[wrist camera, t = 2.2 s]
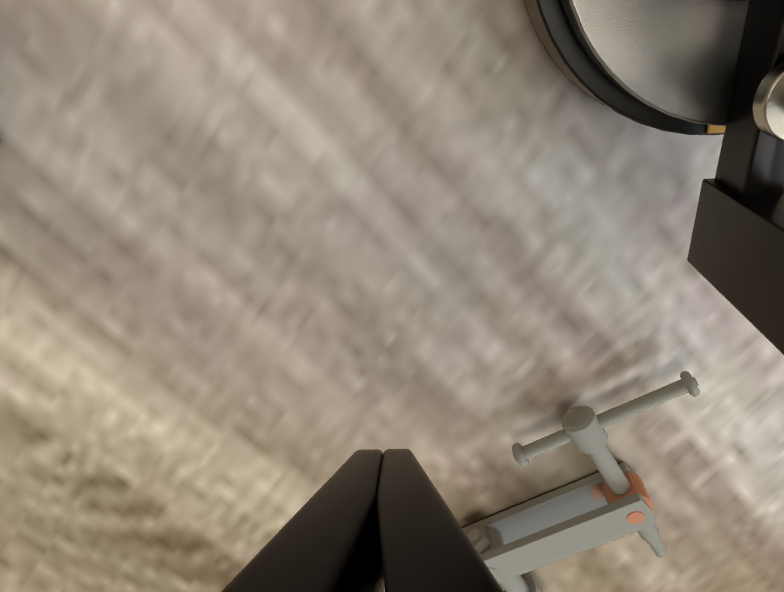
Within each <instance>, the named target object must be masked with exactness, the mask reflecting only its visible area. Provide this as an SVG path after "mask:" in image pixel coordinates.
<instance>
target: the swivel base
mask: <svg viewBox="0 0 784 592" xmlns="http://www.w3.org/2000/svg"><path fill="white" fill-rule="evenodd" d="M524 2H525V6H526V10H527V12H528V15H529V17H530V20H531V22H532V24H533V27H534V29H535V32H536V34H537V36H538V37H539V39H540V41H541V43H542V44H543V46H544V48H545V49H546V51H547V53H548V55H549V56H550V57H551V59H552V60H553V61H554V62H555V64H556V65H557V66H558V67H559V69H560V70H561V71H562V72H563V74H564V75H566V76H567V77H568V78H569V79H570V80H571V81H572V82H573V83H574V84H575V85H576V86H577V87H578V88H580V89H581V90H582V91H584V92H585V93H586V94H588V95H589V96H591V97H592V98H594V99H595V100H597V101H598V102H600V103H602V104H603V105H605V106H607V107H608V108H610V109H612V110H613V111H615V112H617V113H619V114H621V115H623V116H625V117H627V118H629V119H631V120H633V121H636V122H638V123H640V124H643V125H646V126H649V127H653V128H656V129H659V130H662V131H667V132H674V133H681V134H687V135H721V134H724V132H725V127H726V126H713V125H706V124H700V123H693V122H689V121H686V120H683V119H679V118H676V117H673V116H670V115H667V114H665V113H663V112H661V111H659V110H657V109H655V108H652V107H650V106H648V105H646V104H644V103H642V102H640V101H638V100H636V99H634V98H633V97H631V96H630V95H628V94H627V93H626V92H624V91H623V90H621V89H620V88H618V87H617V86H616V85H615V84H614V83H612V82H611V81H610V80H609V79H608V78H607V77H606V76H605V75H604V74H603V73H602V72H601V71H600V70H599V69H598V68H597V66H596V65H595V64H594V63H593V61H592V60H591V59H590V57H589V56H588V55H587V54H586V52H585V51H584V49H583V48H582V46H581V44H580V42H579V41H578V39H577V37H576V35H575V33H574V32H573V30H572V28H571V25H570V23H569V20H568V18H567V15H566V13H565V10H564V7H563V5H562V2H561V0H524Z"/></svg>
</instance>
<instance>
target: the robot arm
mask: <svg viewBox="0 0 784 592" xmlns="http://www.w3.org/2000/svg"><path fill="white" fill-rule="evenodd" d="M384 588H385V592H504V591H503V590H502V588H501V586H500V585H499V583H498V582H497V580H496V579H495V577H494V576H493V574H492V573H491V571H490V570H489V568H488V567H487V565H486V564H485V562H484V561H483V559H482V558H481V556H480V555H479V553H478V552H477V550H476V549H475V547H474V546H473V544H472V543H471V541H470V540H469V538H468V536H467V535H466V533H465V532H464V530H463V529H462V527H461V526H460V524H459V523H458V521H457V520H456V518H455V517H454V515H453V514H452V512H451V511H450V509H449V508H448V506H447V505H446V503H445V502H444V500H443V499H442V497H441V496H440V494H439V493H438V491H437V490H436V488H435V486H434V485H433V483H432V482H431V480H430V479H429V477H428V476H427V474H426V473H425V471H424V470H423V468H422V467H421V465H420V464H419V462H418V461H417V459H416V458H415V456H414V455H413V453H412V452H411V451H410V450H409V449H387V450H386V451H384V453H383V452H382V451H381V450H379V449H374V450H358V451H356V452H355V453H354V454H353V455H352V456H351V457H350V458H349V459H348V460H347V461H346V462H345V463H344V464H343V465H342V466H341V467H340V468H339V469H338V471H337V472H336V473H335V474H334V475H333V476H332V477H331V478H330V479H329V480H328V481H327V482H326V483H325V484H324V485H323V486H322V487H321V488H320V489H319V490H318V491H317V492H316V493H315V494H314V496H313V497H312V498H311V499H310V500H309V501H308V502H307V503H306V504H305V505H304V506H303V507H302V508H301V509H300V510H299V511H298V512H297V513H296V514H295V515H294V516H293V517H292V518H291V519H290V520H289V522H288V523H287V524H286V525H285V526H284V527H283V528H282V529H281V530H280V531H279V532H278V533H277V534H276V535H275V536H274V537H273V538H272V539H271V540H270V541H269V542H268V543H267V544H266V545H265V547H264V548H263V549H262V550H261V551H260V552H259V553H258V554H257V555H256V556H255V557H254V558H253V559H252V560H251V561H250V562H249V563H248V564H247V565H246V566H245V567H244V568H243V569H242V570H241V572H240V573H239V574H238V575H237V576H236V577H235V578H234V579H233V580H232V581H231V582H230V583H229V584H228V585H227V586H226V587H225V588H224V589H223V590H222V591H221V592H384Z"/></svg>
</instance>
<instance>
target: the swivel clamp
mask: <svg viewBox="0 0 784 592" xmlns="http://www.w3.org/2000/svg"><path fill="white" fill-rule="evenodd" d="M561 2H562V5H563V7H564V10H565V13H566V15H567V18H568V20H569V23H570V25H571V28H572V30H573V32H574V33H575V35H576V37H577V39H578V41H579V42H580V44H581V46H582V48H583V49H584V51H585V52H586V54H587V55H588V56H589V57H590V59H591V60H592V61H593V63H594V64H595V65H596V66H597V68H598V69H599V70H600V71H601V72H602V73H603V74H604V75H605V76H606V77H607V78H608V79H609V80H610V81H611V82H612V83H614V84H615V85H616V86H617V87H618V88H620V89H621V90H623V91H624V92H626V93H627V94H628V95H630V96H631V97H633V98H634V99H636V100H638V101H640V102H642V103H644V104H646V105H648V106H650V107H652V108H655V109H657V110H659V111H661V112H663V113H665V114H667V115H670V116H673V117H676V118H679V119H683V120H686V121H689V122H693V123H700V124H706V125H713V126H726V127H725V132H724V137H723V142H722V147H721V152H720V157H719V162H718V167H717V171H716V176H715V179H704V180H703V182H702V187H701V192H700V197H699V202H698V207H697V213H696V218H695V223H694V228H693V233H692V238H691V243H690V249H689V254H688V259H687V260H688V262H689V263H690V264H691V265H692V266H693V267H694V268H695V269H696V270H697V271H698V272H699V273H700V274H702V275H703V276H704V277H705V278H706V279H707V280H708V281H709V282H710V283H711V284H712V285H713V286H714V287H715V288H716V289H717V290H718V291H719V292H720V293H721V294H722V295H723V296H724V297H725V298H726V299H727V300H728V301H729V302H730V303H731V304H732V305H733V306H734V307H735V308H736V309H737V310H738V311H739V312H740V313H741V314H742V315H744V316H745V317H746V318H747V319H748V320H749V321H750V322H751V323H752V324H753V325H754V326H755V327H756V328H757V329H758V330H759V331H760V332H761V333H762V334H763V335H764V336H765V337H766V338H767V339H768V340H769V341H770V342H771V343H772V344H773V345H774V346H775V347H776V348H777V349H778V350H779V351H780V352H781V353H782V354H783V355H784V0H561Z"/></svg>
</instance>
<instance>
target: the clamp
mask: <svg viewBox="0 0 784 592" xmlns="http://www.w3.org/2000/svg"><path fill="white" fill-rule="evenodd" d="M680 377H681V380H678V381H676V382H674V383H671V384H669V385H667V386H664V387H662V388H660V389H657V390H655V391H652V392H650V393H648V394H645V395H643V396H641V397H638V398H636V399H634V400H631V401H629V402H627V403H624V404H622V405H619V406H617V407H615V408H612V409H610V410H608V411H605V412H603V413H601V414H598V415H595V413H594V411H593V410H592V409H591V408H590V407H587V406H577V407H573V408H571V409H570V410H568V411H567V412H566V414H565V415H564V416H563V418H562V426H563V428H564V429H563V430H561V431H558V432H556V433H553V434H551V435H549V436H546V437H544V438H542V439H539V440H537V441H535V442H532V443H530V444H528V445H525V446H523V447H522V446H521V444H519V443H515V444H513V446H512V450H513V456H514V458H515V460H516V461H517V462H518V463H519V465H520V466H522V467H526V466H528V463H529V461H528V459H530V458H532V457H535V456H537V455H539V454H542V453H544V452H547V451H549V450H551V449H554V448H556V447H559V446H561V445H563V444H566V443H568V442H571V441H572V442H573V444H574V445H575V447H576V448H577V450H578V451H580V452H582V453H588V455H589V456H590V458H591V459H592V461H593V462H594V464H595V466H596V467H597V469H598V470H599V472H598V473H595V474H593V475H591V476H588V477H586V478H583V479H581V480H578V481H576V482H573V483H571V484H569V485H566V486H564V487H561V488H559V489H556V490H554V491H552V492H549V493H547V494H544V495H542V496H539V497H537V498H534V499H532V500H530V501H527V502H525V503H522V504H520V505H517V506H515V507H512V508H510V509H508V510H505V511H503V512H500V513H498V514H495V515H493V516H491V517H488V518H486V519H483V520H481V521H478V522H476V523H473V524H471V525H469V526H466V527H464V528H462V529H463V530H464V532H465V533H466V535H467V536H468V538H469V540H470V541H471V543H472V544H473V546H474V547H475V549H476V550H477V552H478V553H479V555H480V556H481V558H482V559H483V561H484V562H485V564H486V565H487V567H488V568H489V570H490V571H491V573H492V574H493V576H494V577H495V579H496V580H497V582H498V583H499V584H500V585H501V586H502V587H503V589H504V592H542V590H541V589H540V588H539V587H538V585H537V584H536V583H535V582H534V580H533V579H532V578H531V577H530V578H528V579H525V580H524V579H523V578H522V577H521V576H520V575H522V574H524V573H527V572H530V571H533V570H535V569H538V568H541V567H543V566H546V565H549V564H551V563H554V562H557V561H559V560H562V559H565V558H567V557H570V556H573V555H575V554H578V553H581V552H584V551H586V550H589V549H592V548H594V547H597V546H600V545H602V544H605V543H608V542H610V541H613V540H616V539H618V538H621V537H624V536H626V535H629V534H632V533H634V532H637V531H638V533H639V535H640V536H641V538H642V539H643V540H645V541H646V542H647V543H648V544H649V545H650V546H651V548H652V549H653V551H654V552H655V554H656V555H657V556H658V557H665V556H666V555H667V549H666V547H665V546H664V544H663V543H662V541H661V539H660V536H659V531H658V529H657V527H656V522H655V518H654V516H653V513H652V511H653V504H652V502H651V500H650V498H649V495H648V493H647V491H646V489H645V487H644V485H643V483H642V481H641V478H640V477H639V476H638V475H637V474H635V473H633V471H632V470H631V469H630V467H629V466H628V465H627V464H626V463H624V462H622V463H620V464H617V462H616V460H615V459H614V457H613V456H612V454H611V452H610V451H609V449H608V447H607V446H606V442H607V437H608V436H607V433H606V431H605V429H604V427H607V426H609V425H611V424H614V423H616V422H619V421H621V420H624V419H626V418H628V417H631V416H633V415H636V414H638V413H640V412H643V411H645V410H648V409H650V408H652V407H655V406H657V405H660V404H662V403H664V402H667V401H669V400H672V399H674V398H676V397H679V396H681V395H684V394H686V393H688V392H689V393H690V394H691V395H692V396H694V397H696V396H698V395H699V394H700V391H699V388H698V383H697V381H696V380H695V378H694V377H693V378H692V376H691V375H690V373H689V372H687V371H683V372H681V374H680Z"/></svg>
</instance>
